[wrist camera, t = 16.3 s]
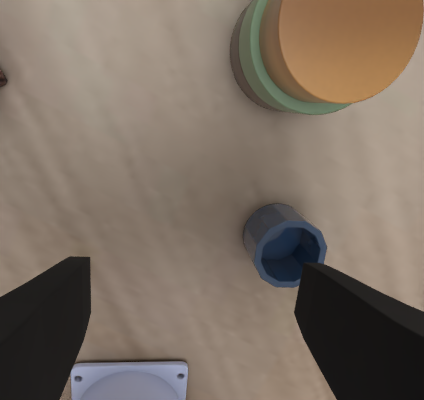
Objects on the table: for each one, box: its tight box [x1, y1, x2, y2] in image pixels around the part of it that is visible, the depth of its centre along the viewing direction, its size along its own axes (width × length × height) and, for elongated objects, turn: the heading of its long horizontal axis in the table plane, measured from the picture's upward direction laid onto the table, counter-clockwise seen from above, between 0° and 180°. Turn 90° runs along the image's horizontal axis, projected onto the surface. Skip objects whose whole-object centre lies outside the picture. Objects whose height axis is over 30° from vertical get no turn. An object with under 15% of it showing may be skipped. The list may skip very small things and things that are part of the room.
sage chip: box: [239, 0, 352, 115], centre depth 15 cm, size 6×6×2 cm
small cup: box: [243, 204, 327, 288], centre depth 20 cm, size 4×4×3 cm
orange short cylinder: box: [259, 0, 424, 104], centre depth 13 cm, size 5×5×3 cm
